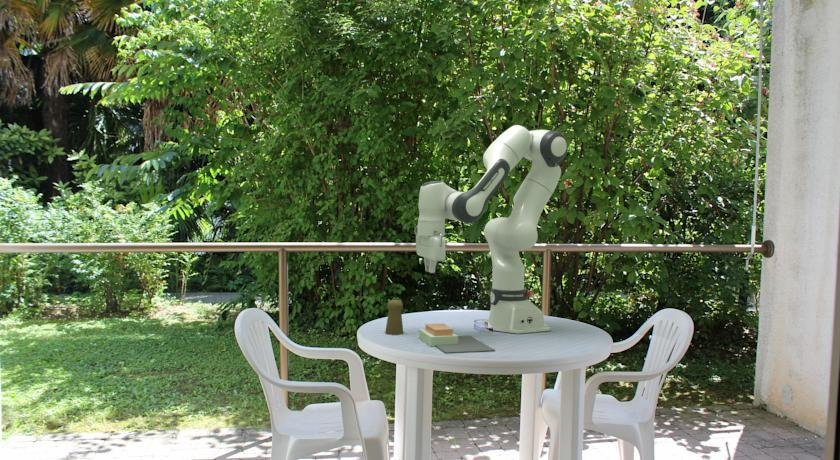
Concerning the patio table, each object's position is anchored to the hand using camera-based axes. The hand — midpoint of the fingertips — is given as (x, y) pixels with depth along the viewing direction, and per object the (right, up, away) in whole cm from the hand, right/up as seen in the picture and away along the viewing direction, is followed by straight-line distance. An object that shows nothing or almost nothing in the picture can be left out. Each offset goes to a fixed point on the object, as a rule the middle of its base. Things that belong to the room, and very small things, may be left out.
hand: (430, 272), depth 236 cm
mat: (+9, -22, -11) cm, 26 cm away
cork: (-12, -21, +4) cm, 24 cm away
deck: (+2, -22, -8) cm, 23 cm away
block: (+3, -19, -9) cm, 21 cm away
